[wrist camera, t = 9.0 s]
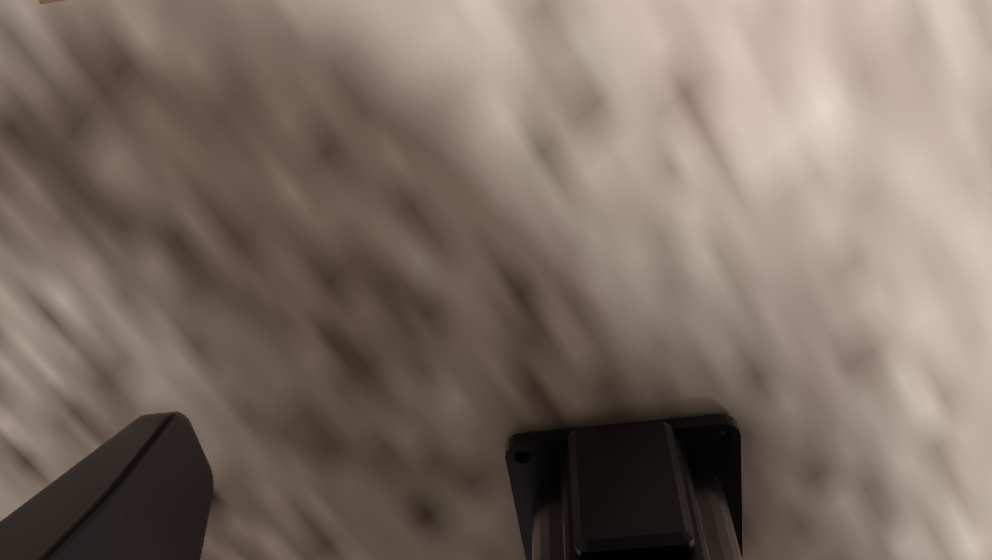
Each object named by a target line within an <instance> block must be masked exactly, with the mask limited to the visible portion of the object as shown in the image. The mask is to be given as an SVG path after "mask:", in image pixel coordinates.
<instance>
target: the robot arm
mask: <svg viewBox="0 0 992 560" xmlns="http://www.w3.org/2000/svg"><path fill="white" fill-rule="evenodd" d="M718 431H726V432H725V433H724V434H721V435H716V434H715V433H716V432H718ZM519 450H527V451H529V452H528V453H519V452H517V451H519ZM505 458H506V463H507V468H508V473H509V478H510V483H511V488H512V492H513V497H514V502H515V507H516V512H517V517H518V521H519V526H520V531H521V536H522V541H523V546H524V550H525V555H526V560H742V497H741V436H740V432H739V429H738V426H737V422H736V420H735V419H734V418H733V417H731V416H728V415H726V414H715V415H705V416H695V417H684V418H674V419H664V420H654V421H644V422H633V423H623V424H613V425H603V426H593V427H582V428H572V429H562V430H552V431H542V432H531V433H521V434H517V435H514V436H512V437H511V438H509V439H508V441H507V443H506V457H505ZM212 496H213V475H212V471H211V468H210V465H209V463H208V461H207V458H206V456H205V454H204V452H203V450H202V447H201V445H200V443H199V441H198V438H197V436H196V434H195V432H194V430H193V427H192V425H191V423H190V421H189V420H188V418H187V417H186V416H185V415H184V414H182V413H179V412H166V413H157V414H148V415H143V416H141V417H139V418H137V419H136V420H135V421H133V422H132V423H131V424H129V425H128V426H127V427H125V428H124V429H123V430H121V431H120V432H119V433H117V434H116V435H115V436H113V437H112V438H111V439H109V440H108V441H107V442H105V443H104V444H103V445H101V446H100V447H99V448H98V449H96V450H95V451H94V452H92V453H91V454H90V455H88V456H87V457H86V458H84V459H83V460H82V461H80V462H79V463H78V464H76V465H75V466H74V467H72V468H71V469H70V470H68V471H67V472H66V473H64V474H63V475H62V476H60V477H59V478H58V479H56V480H55V481H54V482H52V483H51V484H50V485H48V486H47V487H46V488H44V489H43V490H42V491H40V492H39V493H38V494H36V495H35V496H34V497H32V498H31V499H30V500H28V501H27V502H26V503H25V504H23V505H22V506H21V507H19V508H18V509H17V510H15V511H14V512H13V513H11V514H10V515H9V516H7V517H6V518H5V519H3V520H2V521H1V522H0V560H200V558H201V553H202V547H203V542H204V537H205V532H206V527H207V521H208V516H209V511H210V506H211V501H212Z"/></svg>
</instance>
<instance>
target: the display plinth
mask: <svg viewBox="0 0 992 560" xmlns="http://www.w3.org/2000/svg"><path fill="white" fill-rule="evenodd" d="M57 1H63V0H39V2H40V4H45V3H51V2H57Z"/></svg>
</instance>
